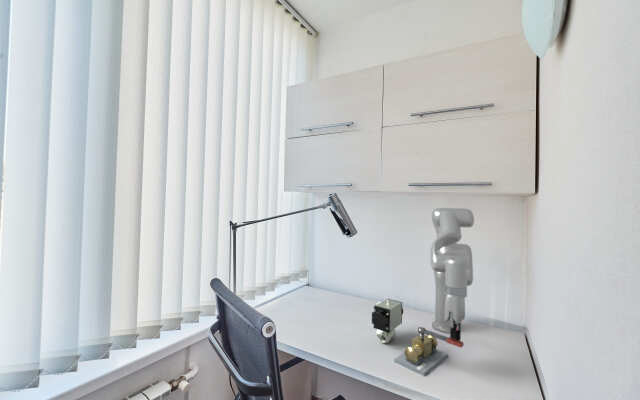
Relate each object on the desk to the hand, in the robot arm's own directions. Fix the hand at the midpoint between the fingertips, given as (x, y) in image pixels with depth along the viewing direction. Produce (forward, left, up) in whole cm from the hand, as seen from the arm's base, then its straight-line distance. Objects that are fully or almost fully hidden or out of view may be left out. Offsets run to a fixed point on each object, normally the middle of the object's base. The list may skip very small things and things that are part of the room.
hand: (455, 339), depth 104 cm
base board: (+5, -11, -10) cm, 15 cm away
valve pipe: (+5, -11, -10) cm, 15 cm away
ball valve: (+2, -29, -10) cm, 30 cm away
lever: (+5, -4, +1) cm, 7 cm away
